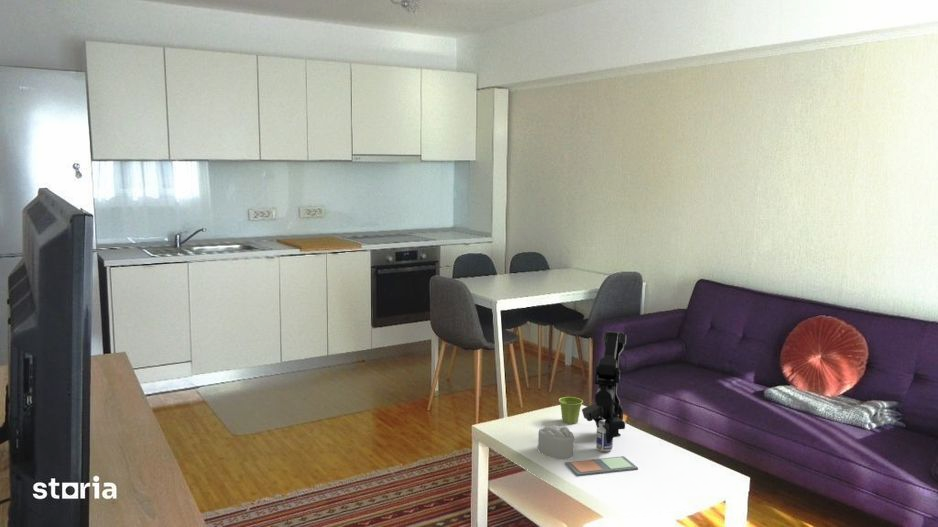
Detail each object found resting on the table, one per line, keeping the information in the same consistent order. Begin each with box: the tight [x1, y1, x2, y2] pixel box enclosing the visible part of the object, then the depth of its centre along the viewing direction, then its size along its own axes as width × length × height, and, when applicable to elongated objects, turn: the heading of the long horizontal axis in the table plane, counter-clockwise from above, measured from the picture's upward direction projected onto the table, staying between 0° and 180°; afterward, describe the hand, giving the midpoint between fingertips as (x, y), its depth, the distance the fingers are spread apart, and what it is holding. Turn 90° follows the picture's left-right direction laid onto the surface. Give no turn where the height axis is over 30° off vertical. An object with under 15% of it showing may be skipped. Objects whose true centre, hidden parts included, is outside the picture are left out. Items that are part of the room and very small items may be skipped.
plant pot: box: [558, 396, 584, 425], centre depth 282 cm, size 9×9×9 cm
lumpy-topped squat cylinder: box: [537, 424, 575, 460], centre depth 251 cm, size 10×13×9 cm
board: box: [564, 455, 639, 477], centre depth 240 cm, size 22×10×1 cm, turn 106°
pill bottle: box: [595, 420, 614, 452], centre depth 254 cm, size 6×6×10 cm
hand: (604, 440), depth 254 cm, fingers closed on pill bottle, 6 cm apart
